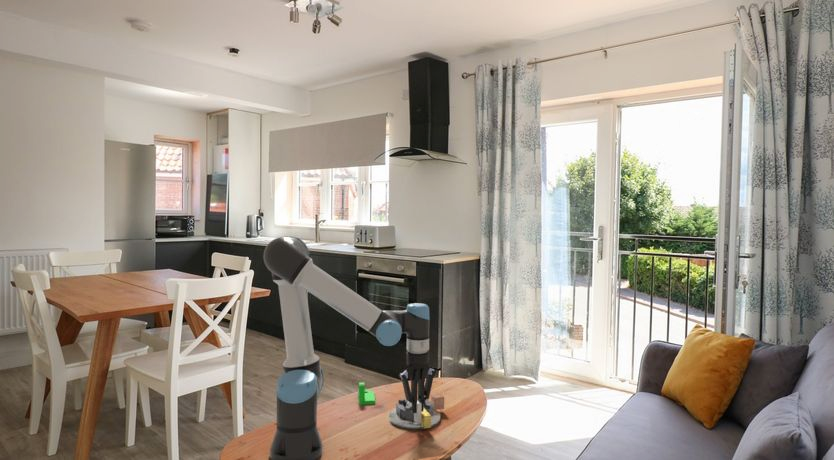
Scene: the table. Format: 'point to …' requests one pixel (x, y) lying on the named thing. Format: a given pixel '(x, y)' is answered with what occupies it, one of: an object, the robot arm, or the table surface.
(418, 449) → the table surface
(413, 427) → the housing
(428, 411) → the grey ring yellow handle
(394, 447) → the table surface
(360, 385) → the mechanical part
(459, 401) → the table surface
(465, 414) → the table surface
